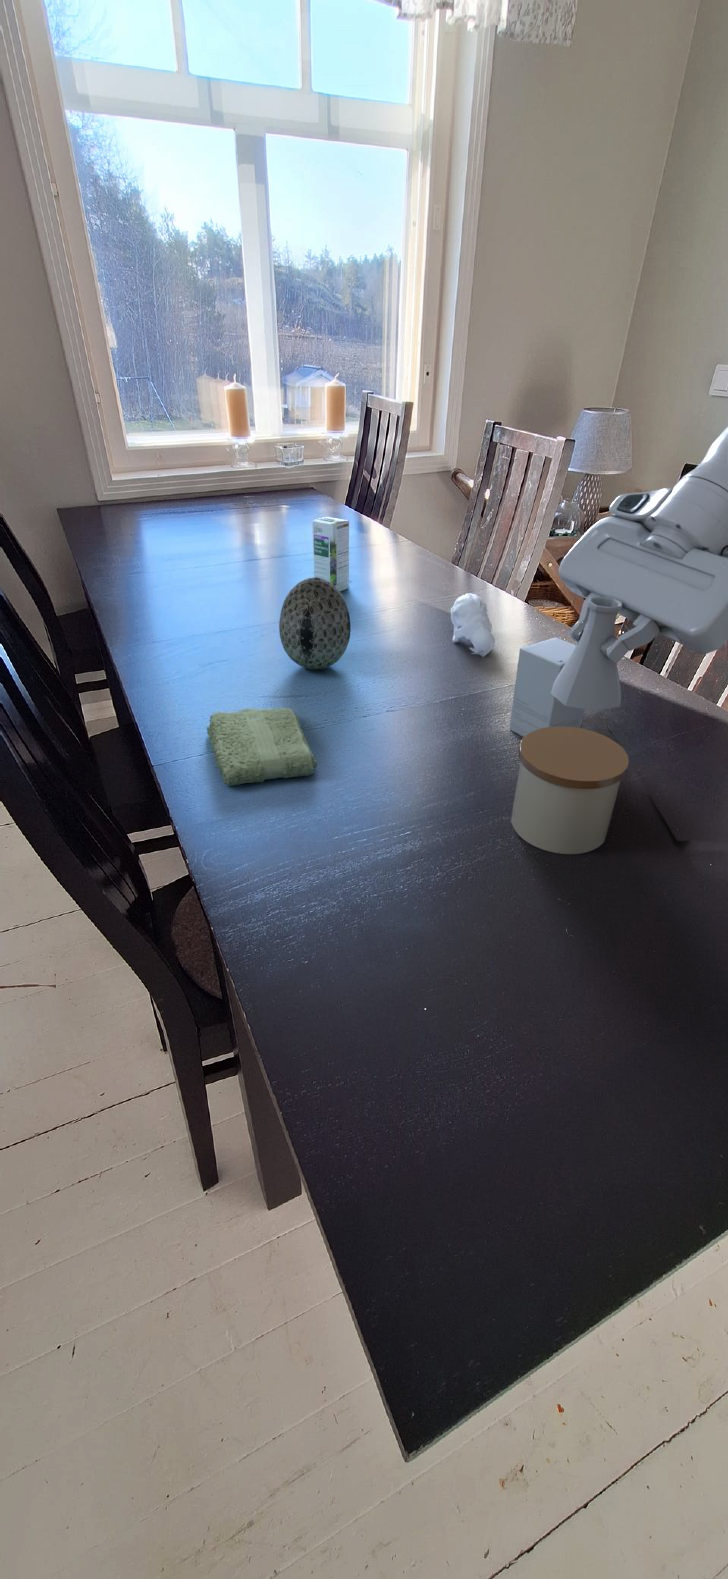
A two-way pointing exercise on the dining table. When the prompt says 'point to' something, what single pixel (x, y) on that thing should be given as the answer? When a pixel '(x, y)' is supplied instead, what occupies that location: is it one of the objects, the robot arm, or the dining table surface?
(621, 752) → the canister
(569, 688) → the flask
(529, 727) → the white packaging box
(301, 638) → the decorative egg
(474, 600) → the white bust
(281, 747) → the washcloth
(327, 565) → the syrup box
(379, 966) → the dining table surface
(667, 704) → the dining table surface
